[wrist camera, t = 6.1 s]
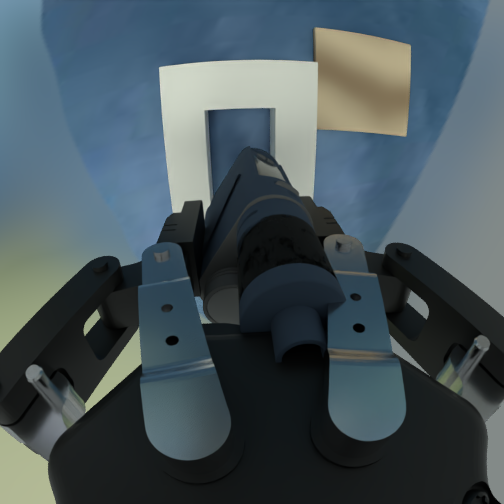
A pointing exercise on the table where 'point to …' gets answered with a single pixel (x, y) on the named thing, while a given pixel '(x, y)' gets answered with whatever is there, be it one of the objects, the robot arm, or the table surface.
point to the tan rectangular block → (362, 82)
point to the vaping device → (265, 257)
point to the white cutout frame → (237, 97)
